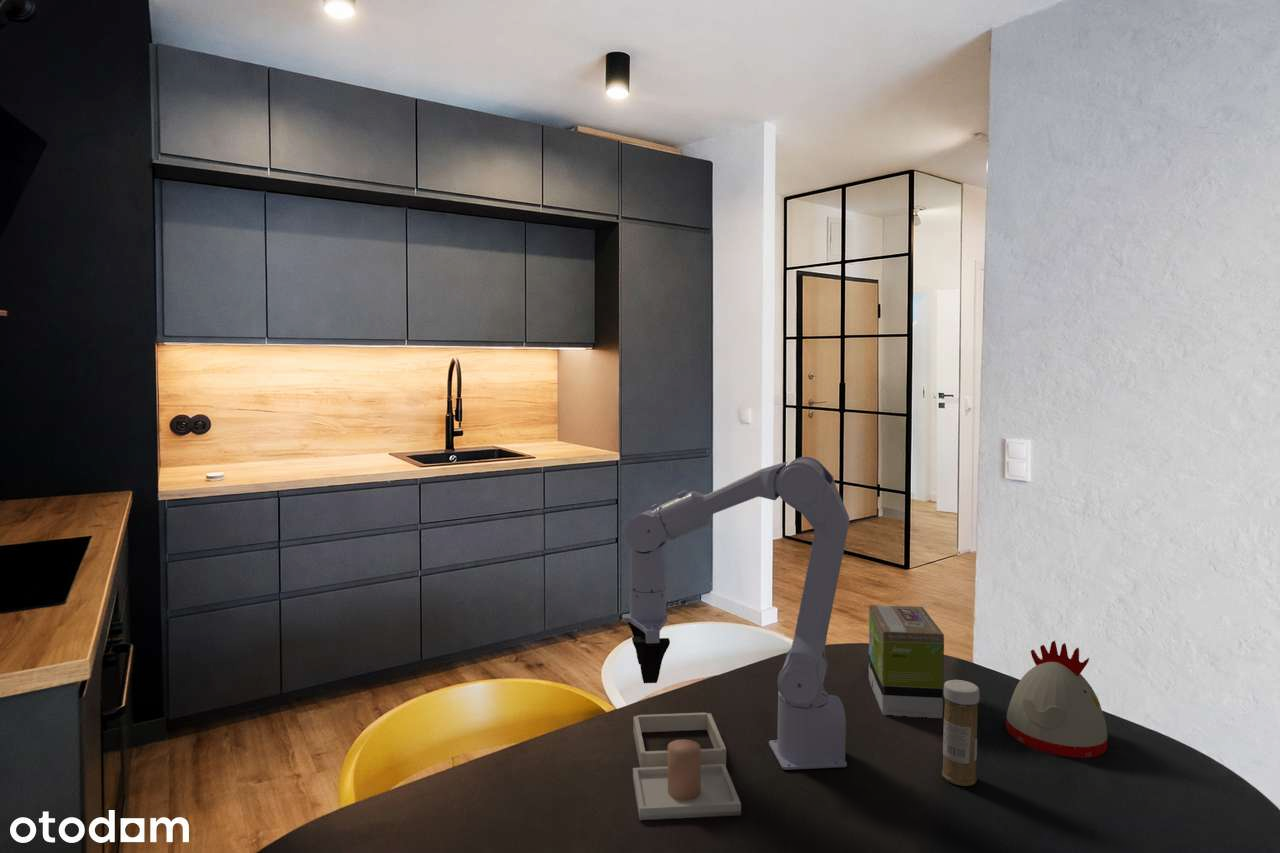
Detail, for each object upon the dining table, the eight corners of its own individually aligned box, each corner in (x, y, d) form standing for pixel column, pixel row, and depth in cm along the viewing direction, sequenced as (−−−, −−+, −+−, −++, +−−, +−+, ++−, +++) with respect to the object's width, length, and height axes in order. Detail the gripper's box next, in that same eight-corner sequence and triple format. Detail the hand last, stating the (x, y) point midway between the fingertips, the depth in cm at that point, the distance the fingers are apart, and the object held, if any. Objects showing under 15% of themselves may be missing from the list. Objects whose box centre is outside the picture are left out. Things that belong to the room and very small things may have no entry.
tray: (724, 774, 105) (724, 763, 105) (740, 815, 95) (740, 803, 95) (632, 778, 104) (632, 767, 103) (639, 820, 94) (639, 808, 94)
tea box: (866, 680, 138) (868, 602, 137) (922, 684, 137) (924, 605, 136) (881, 716, 123) (883, 629, 123) (944, 720, 122) (946, 632, 121)
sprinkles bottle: (983, 781, 103) (986, 686, 103) (963, 791, 101) (967, 694, 100) (953, 767, 107) (956, 675, 106) (934, 776, 105) (937, 682, 104)
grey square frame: (710, 727, 119) (710, 712, 119) (726, 767, 107) (726, 750, 106) (633, 730, 118) (633, 715, 118) (640, 771, 105) (640, 754, 105)
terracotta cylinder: (696, 781, 102) (696, 738, 101) (704, 798, 97) (704, 753, 97) (664, 784, 101) (664, 740, 101) (671, 801, 97) (671, 755, 96)
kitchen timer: (1088, 767, 107) (1093, 665, 106) (991, 734, 117) (994, 641, 117) (1119, 737, 117) (1123, 643, 116) (1026, 708, 127) (1029, 622, 126)
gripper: (619, 576, 123) (619, 656, 124) (626, 601, 109) (625, 692, 110) (661, 575, 124) (660, 655, 125) (673, 600, 110) (673, 690, 110)
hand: (647, 672), depth 117 cm, fingers open, 7 cm apart
